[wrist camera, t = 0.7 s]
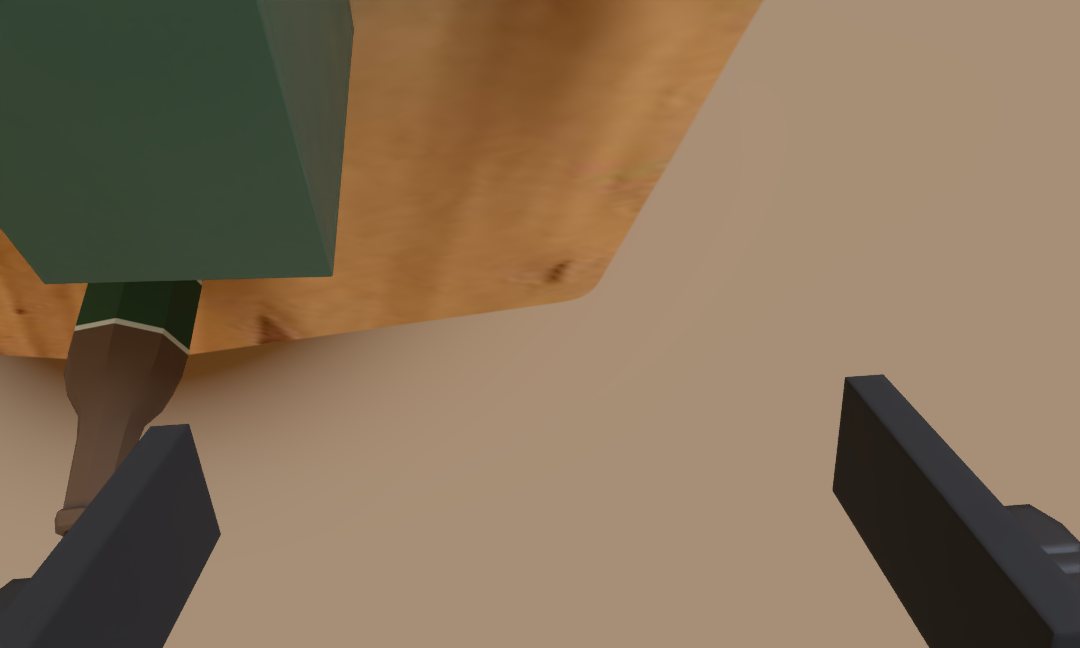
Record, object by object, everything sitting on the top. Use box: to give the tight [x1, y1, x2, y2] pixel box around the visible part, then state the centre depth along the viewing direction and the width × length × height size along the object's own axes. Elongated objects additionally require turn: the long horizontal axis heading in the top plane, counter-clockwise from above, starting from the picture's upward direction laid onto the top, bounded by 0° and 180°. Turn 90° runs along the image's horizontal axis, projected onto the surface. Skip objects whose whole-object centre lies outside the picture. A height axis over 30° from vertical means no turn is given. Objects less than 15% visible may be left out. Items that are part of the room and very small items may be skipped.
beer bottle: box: [55, 280, 203, 537], centre depth 55 cm, size 8×8×24 cm
